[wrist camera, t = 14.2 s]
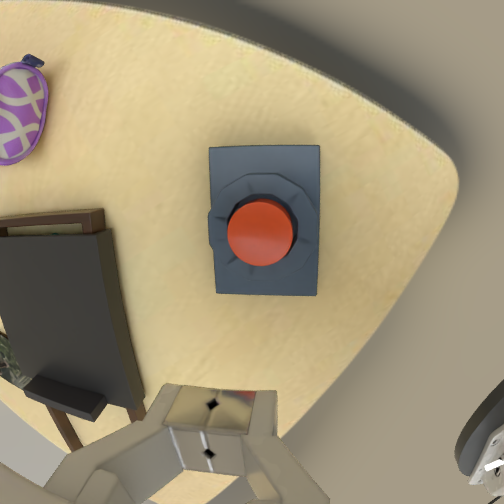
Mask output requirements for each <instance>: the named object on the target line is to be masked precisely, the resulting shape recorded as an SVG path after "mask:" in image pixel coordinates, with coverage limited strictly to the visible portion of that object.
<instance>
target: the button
mask: <svg viewBox="0 0 504 504" xmlns="http://www.w3.org/2000/svg"><path fill="white" fill-rule="evenodd" d="M227 237H228V242H229V245H230V247H231V249H232V251H233V252H234V254H235V255H236V256H237V257H238V258H239V259H241V260H242V261H244V262H246V263H248V264H251V265H255V266H267V265H271V264H274V263H276V262H278V261H279V260H281V259H282V258H283V257H284V256H285V255H286V254H287V252H288V251H289V249H290V247H291V244H292V239H293V224H292V220H291V217H290V215H289V213H288V212H287V210H286V209H285V208H284V207H283V206H282V205H281V204H279V203H278V202H276V201H273V200H270V199H265V198H260V199H254V200H251V201H249V202H247V203H245V204H244V205H243V206H242V207H241V208H239V209H238V210H237V211H236V212H235V213H234V215H233V216H232V218H231V219H230V222H229V225H228V229H227Z"/></svg>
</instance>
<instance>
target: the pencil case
mask: <svg viewBox="0 0 504 504" xmlns="http://www.w3.org/2000/svg"><path fill="white" fill-rule="evenodd" d="M43 65H44V61H42V60H40V59H38V58H36V57H35V56H33V55H31V54H27V55H25V56H24V57H23V59H22V61H21V62H13V63H10V64H7V65H5V66H3V67H1V68H0V165H12V164H15V163H17V162H19V161H21V160H22V159H24V158H25V157H26V156H28V155H29V154H30V153H31V152H32V151H33V149H34V148H35V146H36V145H37V143H38V141H39V139H40V136H41V133H42V131H43V128H44V124H45V117H46V109H47V103H48V86H47V82H46V80H45V78H44V76H43V75H42V73H41V72H40V71H39V70H38V69H36V68H35V67H38V68H39V67H42V66H43Z"/></svg>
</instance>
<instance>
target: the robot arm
mask: <svg viewBox="0 0 504 504" xmlns="http://www.w3.org/2000/svg"><path fill="white" fill-rule="evenodd" d="M277 423H278V415H277V391H276V390H257V391H251V390H228V389H215V388H205V387H196V386H188V385H178V384H170V383H166V384H164V385H163V386H162V388H161V389H160V391H159V393H158V395H157V396H156V398H155V400H154V402H153V403H152V405H151V407H150V408H149V410H148V412H147V414H146V415H145V417H144V419H143V421H138V420H137V421H135V422H133V423H131V424H129V425H127V426H125V427H123V428H122V429H120V430H118V431H116V432H114V433H112V434H110V435H108V436H106V437H103V438H101V439H99V440H97V441H95V442H93V443H91V444H89V445H87V446H85V447H83V448H80V449H78V450H76V451H74V452H72V453H69V454H67V455H66V457H65V458H64V459H63V461H62V462H61V463H60V465H59V466H58V468H57V469H56V470H55V472H54V473H53V475H52V476H51V478H50V479H49V480H48V482H47V483H46V485H45V486H44V487H43V488H42V487H41V486H39V485H37V484H35V483H33V482H32V481H30V480H28V479H26V478H25V477H23V476H21V475H20V474H18V473H16V472H15V471H13V470H12V469H10V468H9V467H7V466H6V465H4V464H3V463H1V462H0V504H141V503H143V502H144V501H145V500H147V499H148V498H150V497H151V496H152V495H153V494H155V493H156V492H157V491H159V490H160V489H161V488H163V487H164V486H165V485H166V484H168V483H169V482H170V481H171V480H173V479H174V478H175V477H176V476H178V475H179V474H180V473H181V472H182V471H183V469H185V470H192V471H200V472H208V473H217V474H224V475H232V476H241V477H247V480H248V482H249V484H250V486H251V488H252V489H253V491H254V493H255V495H256V497H257V498H258V500H255V499H252V500H251V501H249V502H247V503H246V504H330V498H329V497H328V496H327V495H326V494H325V493H324V491H323V490H322V489H321V488H320V487H319V486H318V485H317V483H316V482H315V481H314V480H313V479H312V477H311V476H310V475H309V474H308V473H307V471H306V470H305V469H304V468H303V467H302V465H301V464H300V463H299V462H298V460H297V459H296V458H295V457H294V456H293V454H292V453H291V452H290V451H289V449H288V448H287V447H286V446H285V444H284V443H283V442H282V440H281V439H280V438H279V437H278V436H277ZM468 483H469V484H471V485H477V484H482V483H483V484H484V486H485V488H486V490H487V491H488V493H489V494H491V495H492V496H498V497H497V498H495V499H494V500H492V501H491V502H490V503H488V504H492V503H494V502H495V501H497V500H498V499H499V498H500V497H501V496H504V424H503V425H502V426H500V427H499V428H497V429H496V430H495V431H493V432H492V433H491V434H490V436H489V437H488V440H487V442H486V444H485V446H484V449H483V451H482V453H481V455H480V457H479V459H478V461H477V463H476V465H475V467H474V469H473V471H472V473H471V475H470V477H469V479H468Z"/></svg>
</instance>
